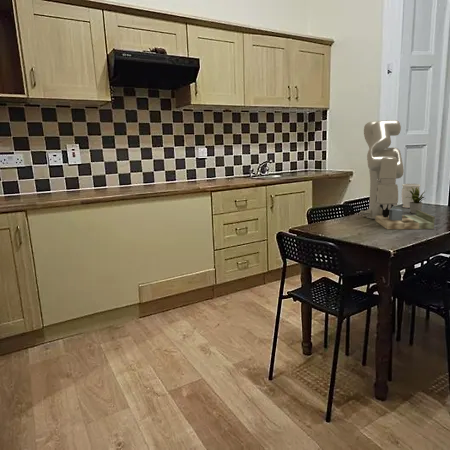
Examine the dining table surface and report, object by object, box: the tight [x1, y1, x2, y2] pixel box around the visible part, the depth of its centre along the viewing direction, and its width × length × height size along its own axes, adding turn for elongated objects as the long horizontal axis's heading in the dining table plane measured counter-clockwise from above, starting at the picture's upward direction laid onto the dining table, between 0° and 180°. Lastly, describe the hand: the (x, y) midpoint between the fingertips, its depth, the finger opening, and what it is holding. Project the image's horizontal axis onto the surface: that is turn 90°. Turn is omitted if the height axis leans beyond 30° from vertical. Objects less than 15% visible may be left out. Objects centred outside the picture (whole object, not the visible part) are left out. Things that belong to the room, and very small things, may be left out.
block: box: [389, 208, 404, 220], centre depth 192 cm, size 5×5×5 cm
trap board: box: [374, 210, 436, 230], centre depth 192 cm, size 22×20×6 cm
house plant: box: [404, 187, 426, 215], centre depth 222 cm, size 14×14×16 cm
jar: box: [401, 183, 421, 209], centre depth 240 cm, size 11×10×15 cm
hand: (385, 216), depth 192 cm, fingers closed
